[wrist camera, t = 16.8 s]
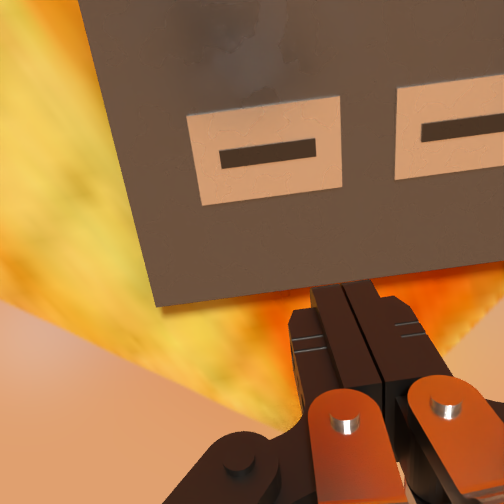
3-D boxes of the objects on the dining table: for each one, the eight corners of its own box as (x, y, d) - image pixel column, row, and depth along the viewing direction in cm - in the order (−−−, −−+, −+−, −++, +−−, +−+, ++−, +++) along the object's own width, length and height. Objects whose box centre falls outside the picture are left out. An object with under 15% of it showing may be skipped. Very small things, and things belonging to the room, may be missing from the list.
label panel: (158, 294, 32) (155, 310, 30) (81, -16, 23) (72, -17, 22) (577, 237, 32) (596, 250, 30) (653, -91, 23) (685, -97, 22)
